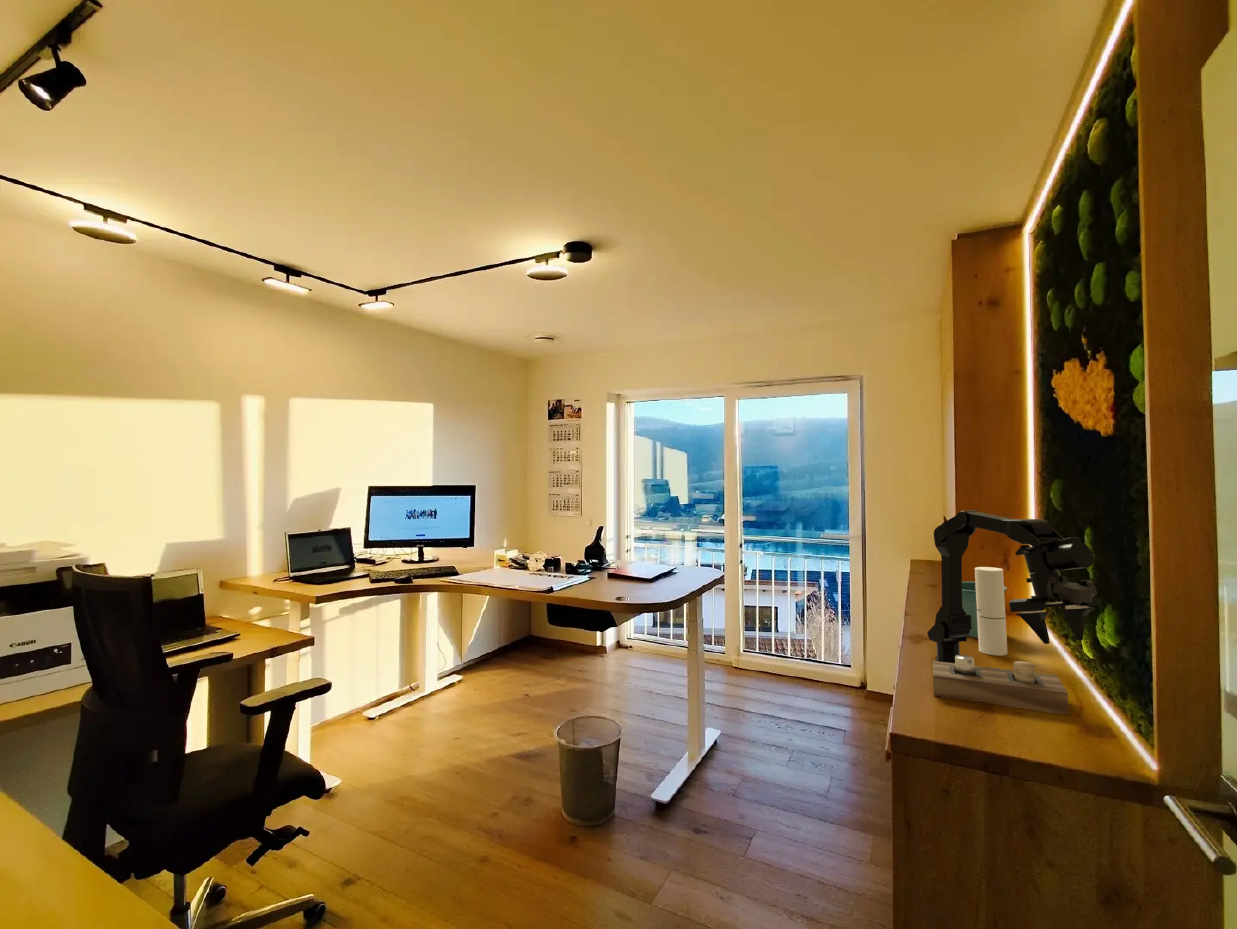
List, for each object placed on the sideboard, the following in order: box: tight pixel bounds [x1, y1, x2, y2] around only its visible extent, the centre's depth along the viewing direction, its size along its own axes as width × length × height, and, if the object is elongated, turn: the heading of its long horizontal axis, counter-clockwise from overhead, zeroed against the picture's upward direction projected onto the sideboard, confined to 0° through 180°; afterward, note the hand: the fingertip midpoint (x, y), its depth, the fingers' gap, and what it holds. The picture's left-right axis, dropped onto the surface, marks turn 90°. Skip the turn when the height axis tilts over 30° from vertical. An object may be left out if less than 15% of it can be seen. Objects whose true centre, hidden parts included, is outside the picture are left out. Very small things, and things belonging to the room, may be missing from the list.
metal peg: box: [955, 654, 975, 676], centre depth 137 cm, size 4×4×5 cm
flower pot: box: [962, 581, 1008, 639], centre depth 185 cm, size 16×16×16 cm
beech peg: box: [1012, 660, 1036, 683], centre depth 131 cm, size 4×4×5 cm
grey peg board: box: [932, 660, 1070, 715], centre depth 134 cm, size 12×26×5 cm, turn 61°
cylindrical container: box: [974, 566, 1008, 657], centre depth 166 cm, size 7×7×25 cm
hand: (1063, 642), depth 124 cm, fingers open, 9 cm apart
